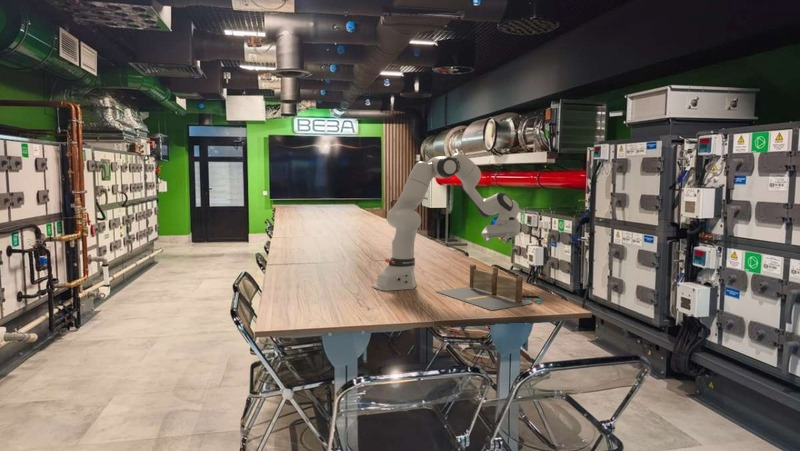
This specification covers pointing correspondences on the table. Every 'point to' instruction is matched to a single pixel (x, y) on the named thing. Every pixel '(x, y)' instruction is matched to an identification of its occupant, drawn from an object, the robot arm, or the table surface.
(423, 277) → the table surface
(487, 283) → the fence panel
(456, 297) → the board
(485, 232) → the robot arm
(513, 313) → the table surface
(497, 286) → the fence fixed
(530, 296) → the gear mechanism
